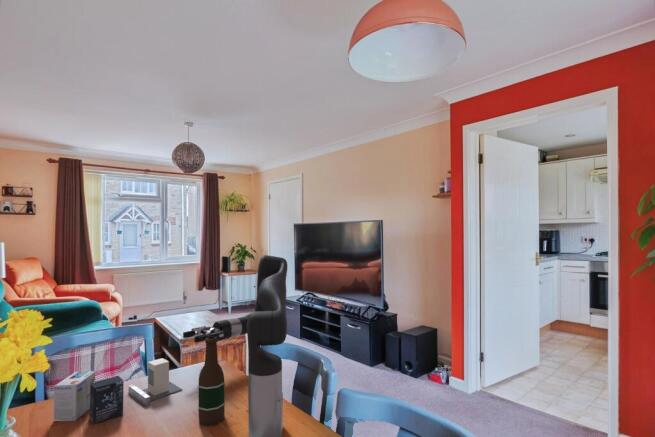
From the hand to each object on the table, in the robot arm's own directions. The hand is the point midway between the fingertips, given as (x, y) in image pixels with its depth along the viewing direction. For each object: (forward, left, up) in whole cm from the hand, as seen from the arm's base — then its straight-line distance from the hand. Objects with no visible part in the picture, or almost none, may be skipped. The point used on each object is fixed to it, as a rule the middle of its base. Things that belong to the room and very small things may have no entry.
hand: (189, 337), depth 136 cm
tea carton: (+8, +7, -16) cm, 19 cm away
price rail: (+13, +11, -17) cm, 24 cm away
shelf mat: (+8, +7, -17) cm, 20 cm away
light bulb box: (+28, +20, -17) cm, 38 cm away
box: (+17, +23, -17) cm, 33 cm away
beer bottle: (-15, +27, -17) cm, 35 cm away
